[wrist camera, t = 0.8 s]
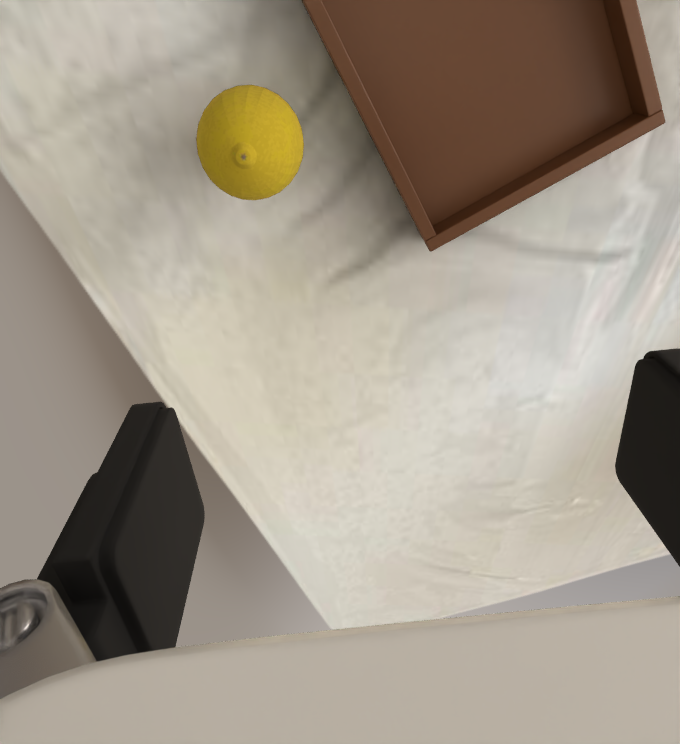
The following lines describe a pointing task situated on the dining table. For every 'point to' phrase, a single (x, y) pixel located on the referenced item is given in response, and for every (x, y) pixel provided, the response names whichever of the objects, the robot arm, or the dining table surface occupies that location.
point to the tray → (489, 95)
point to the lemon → (250, 142)
